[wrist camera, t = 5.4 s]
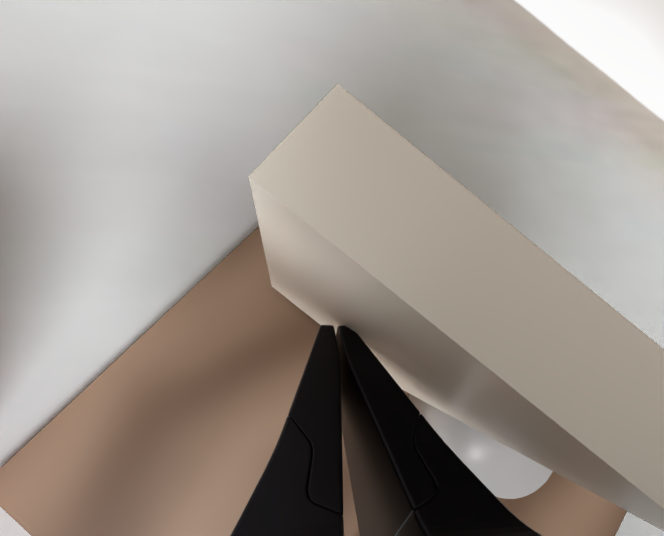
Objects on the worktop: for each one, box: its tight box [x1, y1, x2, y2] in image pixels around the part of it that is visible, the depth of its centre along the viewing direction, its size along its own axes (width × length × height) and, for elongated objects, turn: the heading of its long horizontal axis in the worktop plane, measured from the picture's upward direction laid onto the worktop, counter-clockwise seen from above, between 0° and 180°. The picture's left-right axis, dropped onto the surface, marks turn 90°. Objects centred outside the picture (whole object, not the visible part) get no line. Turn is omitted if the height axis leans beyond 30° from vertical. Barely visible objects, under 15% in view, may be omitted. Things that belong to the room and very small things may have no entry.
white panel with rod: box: [248, 84, 664, 531], centre depth 9 cm, size 13×14×12 cm
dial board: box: [0, 227, 627, 536], centre depth 15 cm, size 24×20×1 cm
